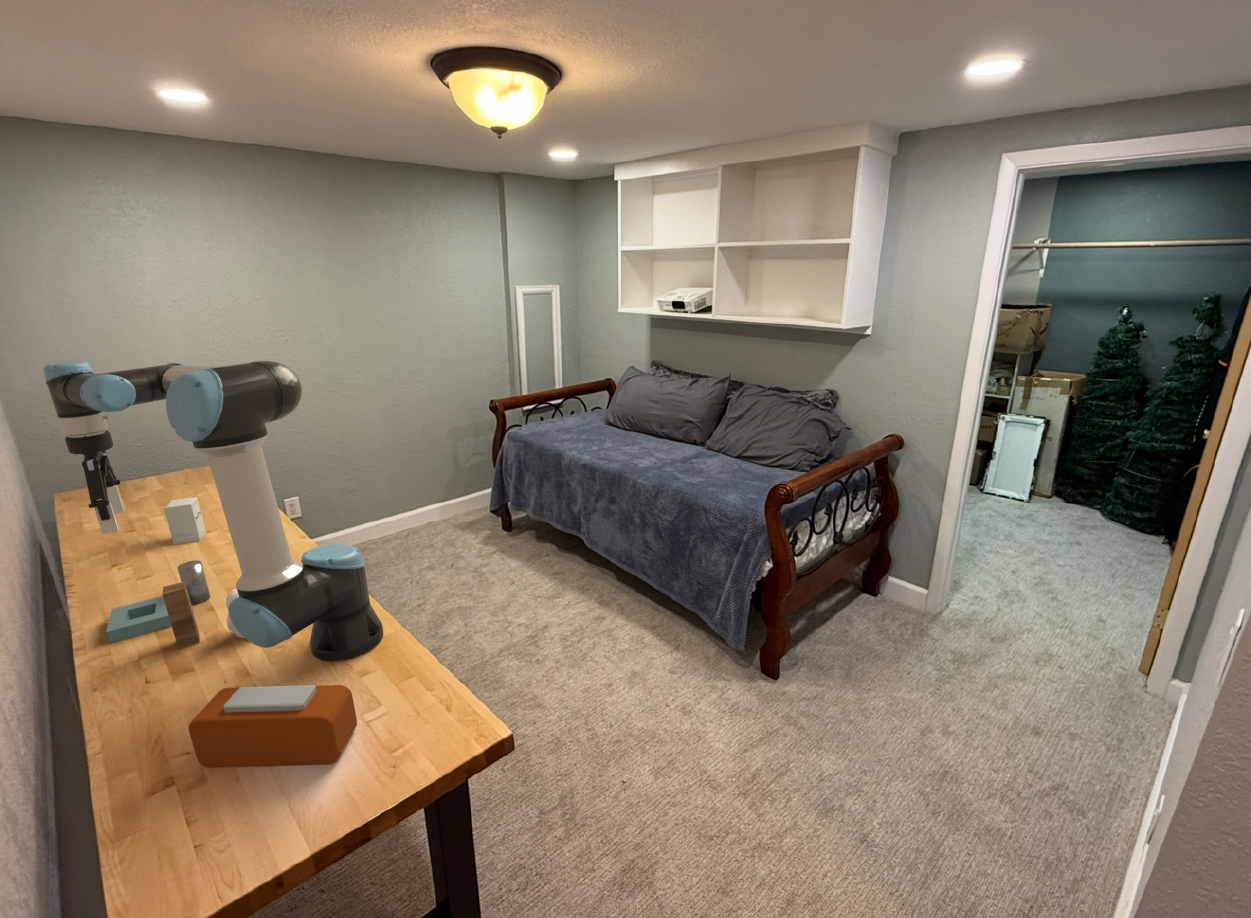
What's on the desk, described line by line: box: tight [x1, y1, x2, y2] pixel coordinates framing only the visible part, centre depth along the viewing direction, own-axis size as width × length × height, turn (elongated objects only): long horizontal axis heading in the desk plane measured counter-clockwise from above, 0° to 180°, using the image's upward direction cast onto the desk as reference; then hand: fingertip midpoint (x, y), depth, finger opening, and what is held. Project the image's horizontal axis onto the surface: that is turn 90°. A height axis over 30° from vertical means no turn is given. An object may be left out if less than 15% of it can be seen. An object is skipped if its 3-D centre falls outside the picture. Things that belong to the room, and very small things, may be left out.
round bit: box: [177, 559, 211, 606], centre depth 152 cm, size 5×5×10 cm
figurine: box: [225, 587, 246, 639], centre depth 138 cm, size 7×8×12 cm
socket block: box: [105, 595, 172, 644], centre depth 143 cm, size 12×12×3 cm
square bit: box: [162, 582, 201, 649], centre depth 134 cm, size 4×4×14 cm
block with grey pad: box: [188, 684, 358, 769], centre depth 104 cm, size 24×8×11 cm, turn 91°
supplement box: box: [163, 496, 207, 546], centre depth 188 cm, size 7×7×13 cm
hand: (114, 522), depth 136 cm, fingers open, 13 cm apart
